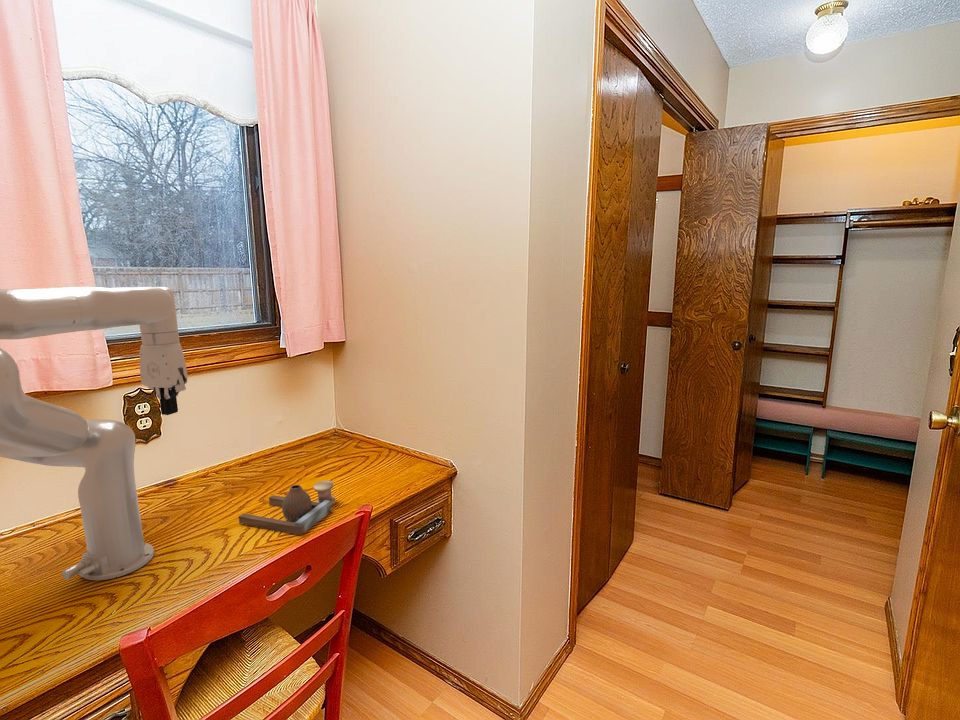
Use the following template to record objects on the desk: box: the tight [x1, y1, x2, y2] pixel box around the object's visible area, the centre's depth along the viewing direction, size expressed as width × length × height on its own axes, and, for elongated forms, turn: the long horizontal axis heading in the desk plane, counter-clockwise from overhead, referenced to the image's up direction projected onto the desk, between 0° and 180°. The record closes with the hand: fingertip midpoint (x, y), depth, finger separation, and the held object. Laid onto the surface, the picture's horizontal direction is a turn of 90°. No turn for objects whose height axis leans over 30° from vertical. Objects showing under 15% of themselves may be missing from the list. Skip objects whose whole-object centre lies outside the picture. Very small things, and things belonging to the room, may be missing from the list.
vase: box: [281, 484, 313, 523], centre depth 122 cm, size 7×7×9 cm
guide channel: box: [238, 494, 332, 536], centre depth 123 cm, size 12×18×3 cm, turn 72°
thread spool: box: [313, 479, 336, 507], centre depth 130 cm, size 5×5×5 cm
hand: (169, 413), depth 120 cm, fingers closed
